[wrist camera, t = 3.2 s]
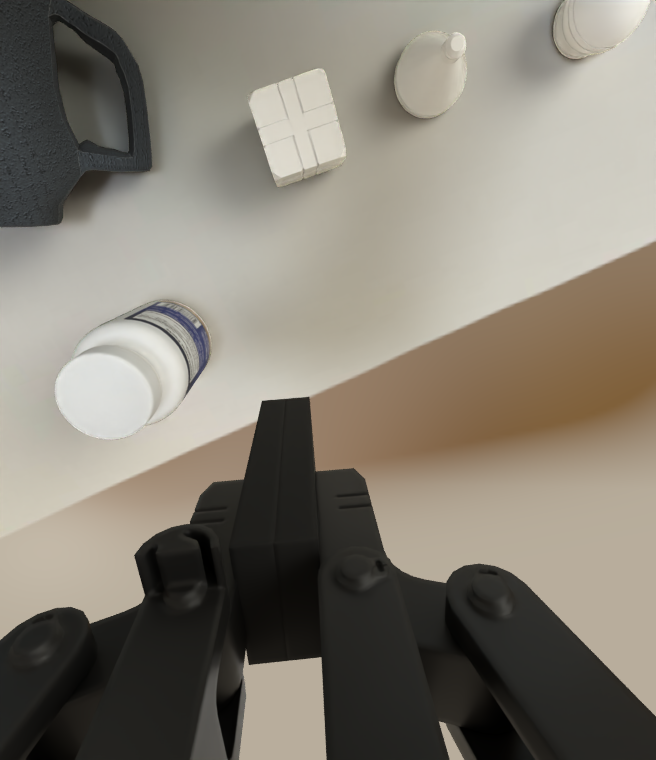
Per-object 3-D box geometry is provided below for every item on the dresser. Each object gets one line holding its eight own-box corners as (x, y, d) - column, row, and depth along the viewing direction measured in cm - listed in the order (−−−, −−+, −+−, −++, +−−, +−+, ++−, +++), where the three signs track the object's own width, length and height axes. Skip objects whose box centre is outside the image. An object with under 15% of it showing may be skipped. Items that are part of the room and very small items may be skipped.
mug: (-192, -82, 17) (-98, 208, 22) (-385, -259, 10) (-185, 227, 15) (125, -1, 23) (146, 218, 27) (145, -79, 16) (170, 236, 20)
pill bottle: (146, 389, 28) (69, 468, 18) (112, 311, 26) (8, 355, 17) (225, 369, 27) (187, 438, 18) (196, 289, 26) (138, 320, 16)
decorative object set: (249, 100, 22) (237, 69, 18) (612, -30, 22) (688, -95, 17) (278, 188, 24) (273, 179, 20) (618, 70, 23) (689, 34, 19)
